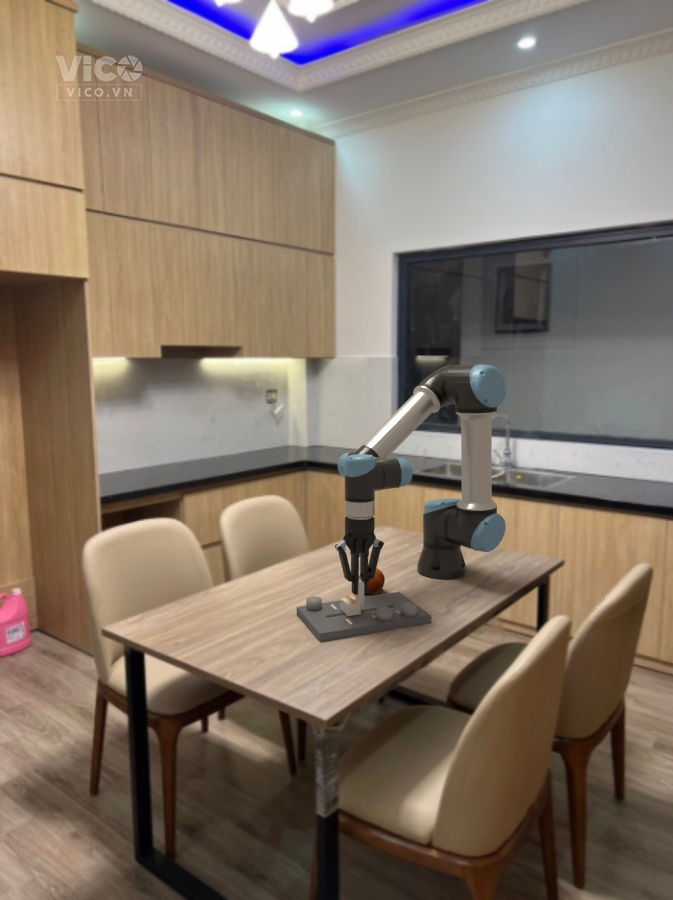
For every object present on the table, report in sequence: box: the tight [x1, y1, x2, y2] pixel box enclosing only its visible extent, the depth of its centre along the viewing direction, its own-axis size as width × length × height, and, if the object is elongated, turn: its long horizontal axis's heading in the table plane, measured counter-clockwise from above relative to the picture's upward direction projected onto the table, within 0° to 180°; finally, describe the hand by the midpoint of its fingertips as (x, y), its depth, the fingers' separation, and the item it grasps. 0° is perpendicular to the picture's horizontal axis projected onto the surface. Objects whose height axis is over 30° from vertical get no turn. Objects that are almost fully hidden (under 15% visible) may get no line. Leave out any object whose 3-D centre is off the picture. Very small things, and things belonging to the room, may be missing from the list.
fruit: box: [359, 567, 386, 596], centre depth 186 cm, size 8×8×8 cm
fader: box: [339, 594, 361, 616], centre depth 165 cm, size 4×5×4 cm
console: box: [296, 591, 432, 642], centre depth 167 cm, size 30×18×4 cm, turn 111°
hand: (359, 605), depth 166 cm, fingers closed
